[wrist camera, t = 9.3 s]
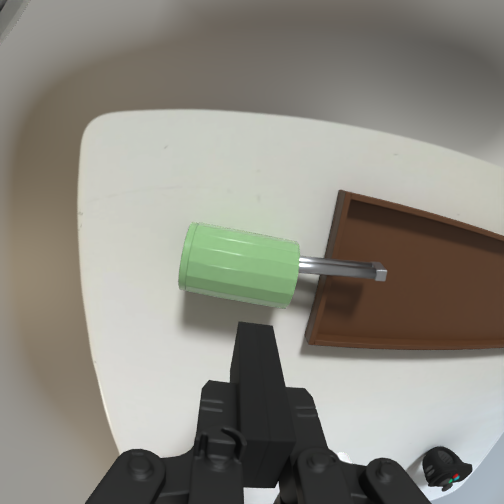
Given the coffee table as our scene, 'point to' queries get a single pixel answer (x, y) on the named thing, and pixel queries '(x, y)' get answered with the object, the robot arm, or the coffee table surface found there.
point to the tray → (409, 281)
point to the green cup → (239, 265)
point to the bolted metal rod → (342, 268)
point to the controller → (444, 468)
